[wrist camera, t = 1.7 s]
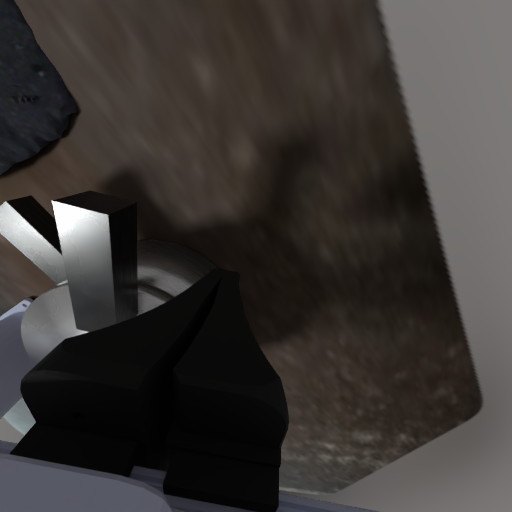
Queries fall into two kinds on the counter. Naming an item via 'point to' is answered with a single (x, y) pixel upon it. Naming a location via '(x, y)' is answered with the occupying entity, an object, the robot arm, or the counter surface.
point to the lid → (90, 274)
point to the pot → (51, 259)
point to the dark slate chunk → (27, 92)
